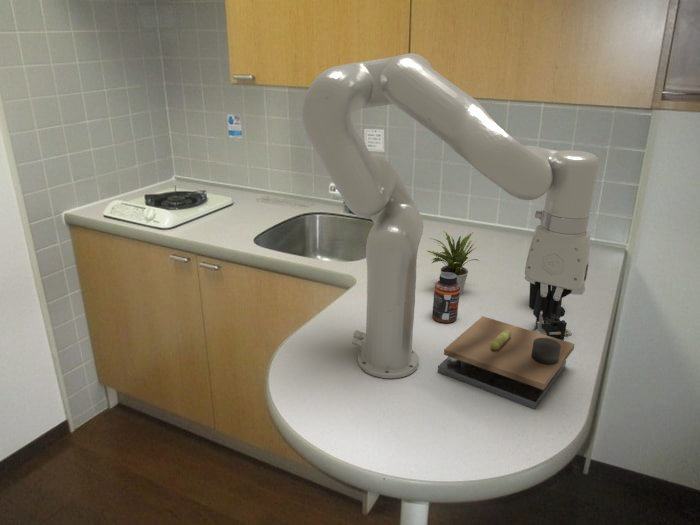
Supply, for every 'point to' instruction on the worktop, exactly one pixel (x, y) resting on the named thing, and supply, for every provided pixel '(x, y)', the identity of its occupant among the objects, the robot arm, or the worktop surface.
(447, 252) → the house plant
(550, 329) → the scope
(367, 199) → the robot arm
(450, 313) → the supplement bottle
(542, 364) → the levelling plate
